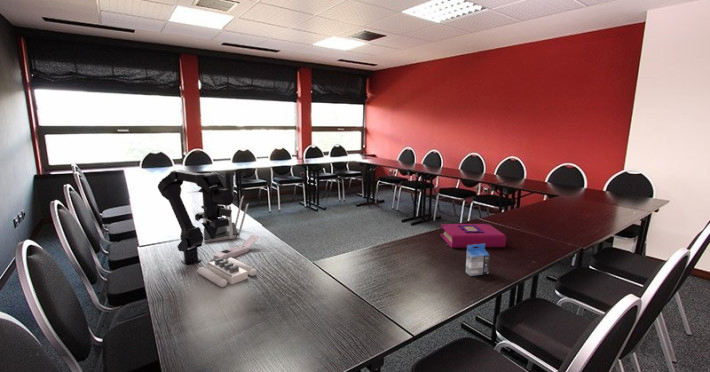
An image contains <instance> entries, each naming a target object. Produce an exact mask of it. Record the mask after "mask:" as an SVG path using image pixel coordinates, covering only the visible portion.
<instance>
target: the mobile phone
mask: <svg viewBox="0 0 710 372" xmlns="http://www.w3.org/2000/svg"><path fill="white" fill-rule="evenodd" d="M259 239H260V236H259V235H254V234H251V235H250V236H249V237H248V239H246V241H245V242H244V243H243V244H242V245H238V246H235V247H232V248H228V249H224V250H222V251H219V252H217V253H214V255H213V258H210V260H209V262H213V261H214V259H217V258H221V257H222V258H224V260H228V258H230V257H231V258H235V257H238V256H241V255H243V254H245V253H248V252H249V249H250V248H251V247H252V246H253V244H255V243H256V242H257V241H258V240H259Z"/></svg>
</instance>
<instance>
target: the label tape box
mask: <svg viewBox="0 0 710 372" xmlns="http://www.w3.org/2000/svg"><path fill="white" fill-rule="evenodd" d="M476 246H477V247H476ZM473 247H474V248H473ZM465 255H466V256H465V257H466V260H465V273H466V274H467V275H468V276H470V277H474V276H475V277H476V276H481V275H488V274H489V272H490V257H491V256H490V254H489V252H488V251H487V250H486V247H485V244H475V245H467V248H466V254H465Z"/></svg>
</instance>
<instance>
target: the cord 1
mask: <svg viewBox="0 0 710 372" xmlns="http://www.w3.org/2000/svg"><path fill="white" fill-rule="evenodd" d="M197 273H198V274H199V275H200V276H202V277H204V278H206V280H208V281H210V282H212V283H214V284H215V285H217V286H219V287H220V288H225V287H226V286H227V284H228V282H227V281H226V280H225V279H223V278H222V277H220V276H218V275H216V274H215V273H213V272H211V271H210V270H208V269H207V267H204V266H199V267H198V269H197Z"/></svg>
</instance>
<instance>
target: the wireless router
mask: <svg viewBox="0 0 710 372" xmlns="http://www.w3.org/2000/svg"><path fill="white" fill-rule="evenodd" d="M244 197H245V196H244V195H242V197H241V199H240V201H239V206H238V211H237V215H236V219H235V222H233V218H232V213H231V216H230V217H227V216H225V218H226V219H228V220H229V225H228V226H223V227H219V228H218V229H217V232H216V236H215V239H211V237H210V235H209V234H208V232H207V231H206V229H205V228H204V227H203V241H206V242H209V243H210V242H217V241H224V240H226V241H227V240H232V239H233V240H234V239H236V237H237V236H238V237H240V235H241V232H242V230H243V229H242V228H243V226H244V222H245V217H246V213H247V211H248V208H249V203H247V204H246V205H245V208H244V211H243V216H242V218H241V222H240V225H239V230H237V226H238V220H239V216H240V212H241V209H242V206H243V205H242V204H243V200H244ZM224 207H225V208H226V209H229V210H232V206H231V205H229V206H225V205H224Z"/></svg>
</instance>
